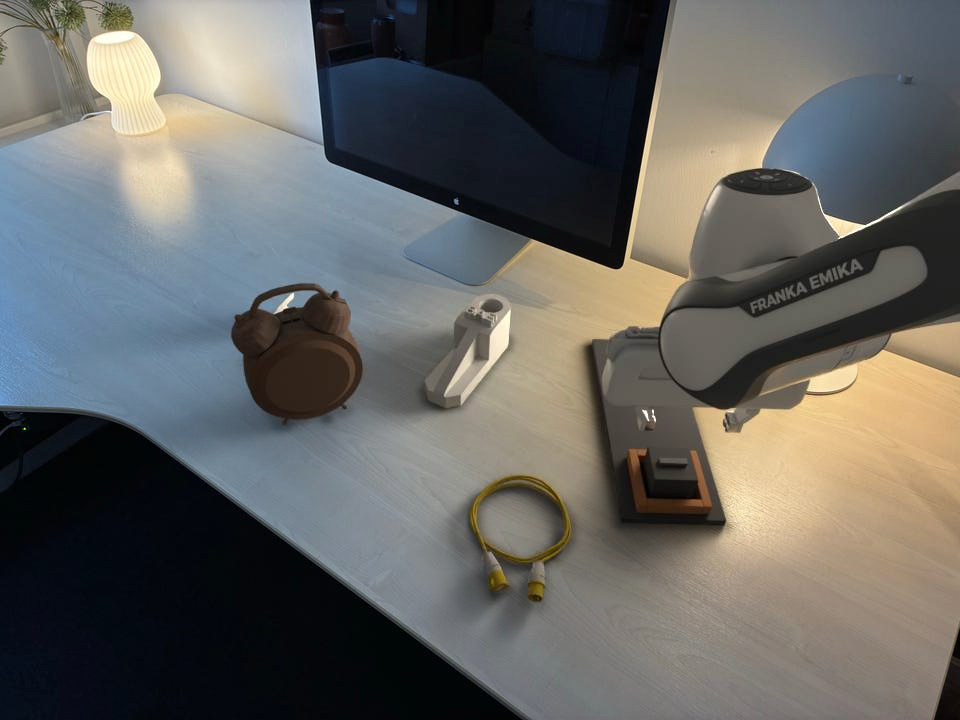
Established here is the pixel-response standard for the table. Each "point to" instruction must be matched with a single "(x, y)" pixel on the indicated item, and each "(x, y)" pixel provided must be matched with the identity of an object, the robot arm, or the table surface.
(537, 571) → the extension cord
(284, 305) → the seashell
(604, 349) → the base pad
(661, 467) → the black block
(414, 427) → the table surface
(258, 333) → the alarm clock
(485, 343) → the angled bracket with hole
